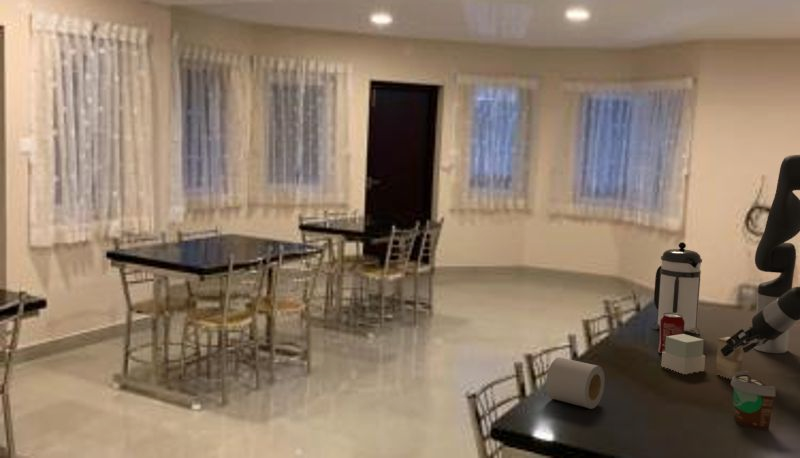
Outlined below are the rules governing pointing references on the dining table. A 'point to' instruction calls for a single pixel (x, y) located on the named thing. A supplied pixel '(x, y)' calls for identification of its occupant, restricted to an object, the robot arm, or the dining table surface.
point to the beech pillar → (728, 360)
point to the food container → (752, 401)
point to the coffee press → (678, 285)
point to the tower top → (684, 346)
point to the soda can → (669, 328)
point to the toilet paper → (575, 382)
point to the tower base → (683, 363)
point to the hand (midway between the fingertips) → (733, 351)
